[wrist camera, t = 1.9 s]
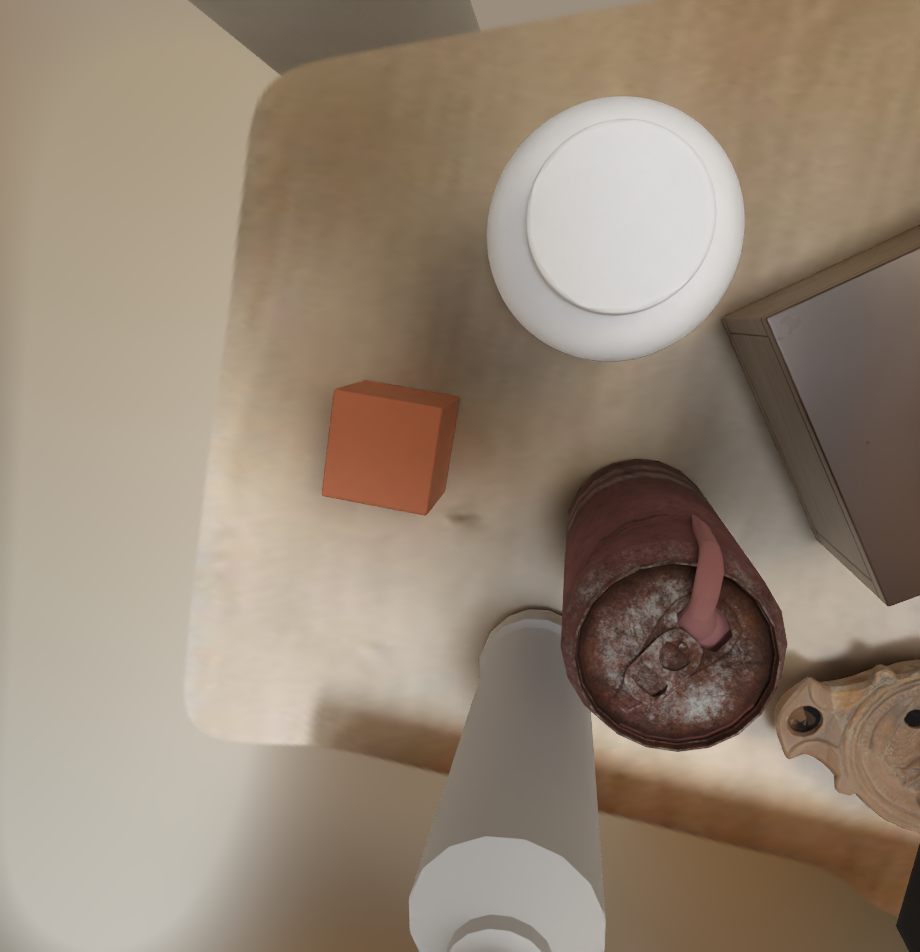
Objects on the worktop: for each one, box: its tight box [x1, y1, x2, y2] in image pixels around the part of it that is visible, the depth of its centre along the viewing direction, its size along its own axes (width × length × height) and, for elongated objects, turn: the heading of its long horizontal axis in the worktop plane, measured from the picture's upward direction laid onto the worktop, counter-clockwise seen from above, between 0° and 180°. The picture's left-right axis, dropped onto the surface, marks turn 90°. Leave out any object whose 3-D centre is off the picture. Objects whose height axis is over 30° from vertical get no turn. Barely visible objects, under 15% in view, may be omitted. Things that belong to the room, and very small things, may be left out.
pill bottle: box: [487, 96, 745, 362], centre depth 26 cm, size 8×7×14 cm
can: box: [561, 459, 787, 752], centre depth 28 cm, size 6×6×14 cm
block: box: [322, 380, 459, 515], centre depth 33 cm, size 4×4×4 cm
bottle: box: [409, 609, 605, 952], centre depth 24 cm, size 5×5×25 cm
